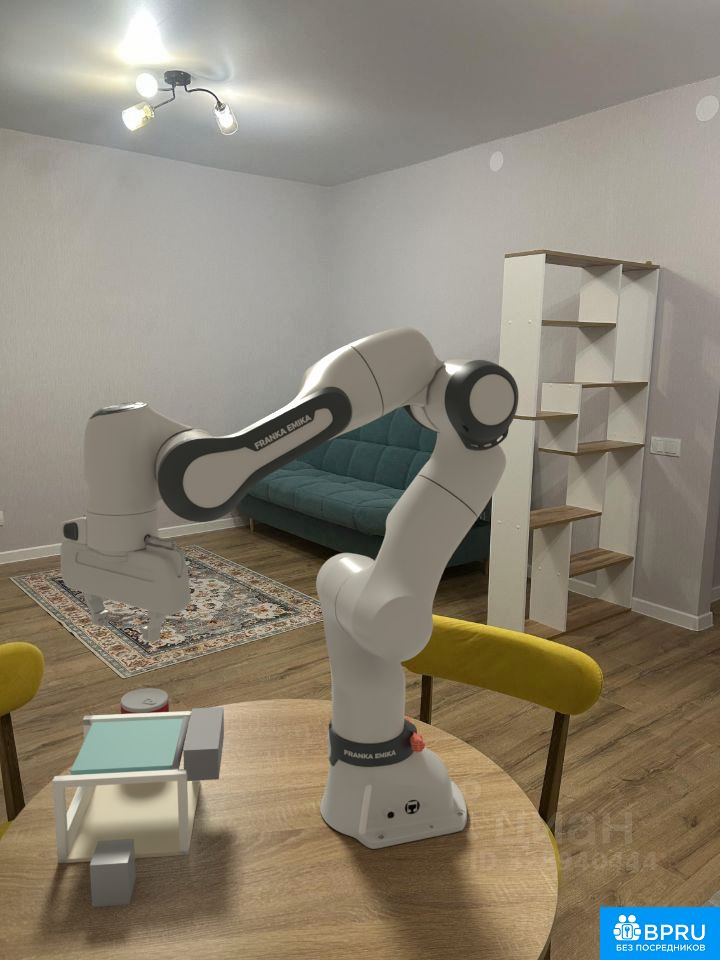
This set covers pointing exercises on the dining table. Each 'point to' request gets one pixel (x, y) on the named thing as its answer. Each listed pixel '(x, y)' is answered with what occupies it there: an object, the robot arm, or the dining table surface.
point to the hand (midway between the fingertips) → (125, 631)
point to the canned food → (145, 701)
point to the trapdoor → (156, 745)
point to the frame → (126, 806)
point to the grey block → (113, 872)
